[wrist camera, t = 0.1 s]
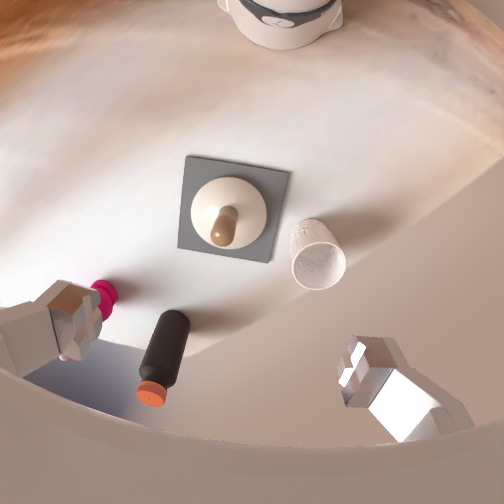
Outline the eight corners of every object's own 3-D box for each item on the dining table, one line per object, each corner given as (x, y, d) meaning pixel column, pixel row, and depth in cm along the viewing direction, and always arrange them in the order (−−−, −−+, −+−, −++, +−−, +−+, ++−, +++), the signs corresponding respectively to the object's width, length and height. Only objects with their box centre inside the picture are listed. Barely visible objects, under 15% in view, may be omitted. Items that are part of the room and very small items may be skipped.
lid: (196, 170, 44) (182, 186, 36) (273, 183, 45) (275, 201, 37) (189, 239, 50) (176, 266, 42) (258, 251, 51) (258, 280, 43)
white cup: (334, 215, 48) (350, 241, 39) (330, 257, 51) (343, 289, 43) (287, 215, 48) (293, 242, 39) (286, 257, 52) (290, 290, 43)
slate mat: (186, 156, 44) (185, 156, 43) (288, 173, 45) (288, 173, 44) (178, 246, 51) (177, 247, 51) (268, 261, 52) (268, 263, 52)
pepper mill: (97, 271, 55) (48, 336, 37) (124, 292, 57) (84, 363, 39) (86, 292, 57) (41, 355, 40) (112, 311, 59) (74, 378, 42)
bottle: (162, 331, 61) (135, 405, 44) (157, 308, 58) (126, 383, 40) (191, 335, 61) (172, 412, 44) (189, 311, 58) (166, 390, 40)
